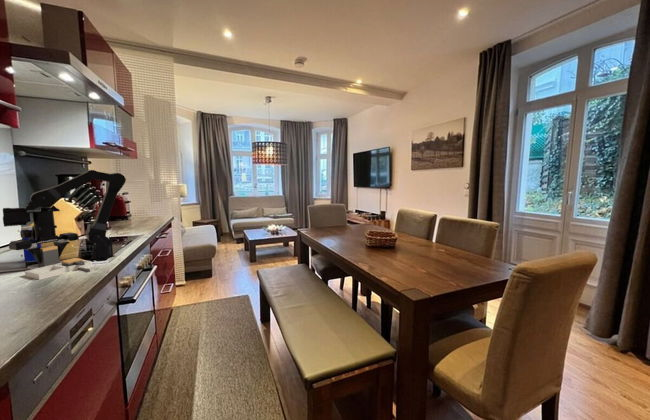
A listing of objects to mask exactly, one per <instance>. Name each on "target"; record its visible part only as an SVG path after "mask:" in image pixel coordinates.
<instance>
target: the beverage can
mask: <svg viewBox="0 0 650 420" xmlns="http://www.w3.org/2000/svg"><path fill="white" fill-rule="evenodd" d="M32 226H33V225H28V226H27V225H26V226H21V228H20V231H21V230H29V231H32ZM21 240H23V239H22V238H21ZM24 240H28V238H25V239H24ZM34 240H36V239H34ZM31 241H32V240H31ZM40 242H41V241H40ZM37 247H42V244H37ZM23 256H24V257H23V259H24V262H25V263H33V262H37V261H36V259H35V258H34V256H33V255H32V254H31V253H30V252H29V251H28V250H24V249H23Z"/></svg>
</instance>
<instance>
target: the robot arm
mask: <svg viewBox="0 0 650 420" xmlns="http://www.w3.org/2000/svg"><path fill="white" fill-rule="evenodd" d="M94 180H95V181H101V182H106V183H105V192H104V196H103V197H102V200H101V202H100V206H99V209H98V211H97V214H96V216H95V219H94V221H93V223H91V224H90V223H87V226H86V227H87V228H86V230H85V231H84V234H85V238H86V239H87V240H88V241H89V242H90V243H92V244H93V245H92V246H91V247H92V249H91V252H90V253H91V258H90V259H92V260H96V261H103V260H107V259H109V258H110V259H111V258H115V257H116V255H114V250H113V240H112V239H110V238H109V237H108V236H106V235H107V223H108V220H109V218H110V215H111V212H112V210H113V207H114V203H115V200H116V198H117V195H118V194H119V192H120V191H121V190H122V188H123V187H124V185H125V184H126V180H127V179H126V176H125V175H123V174H122V173H119V172H111V173H107V172H104V171H102V172H101V171H97V170H94V169H90V170H89V169H88V170H87V171H85V172H83V173H81V174H80V175H79V174H78V175H77V176H75V177H73V178H70V179H69V180H66V181H64V182H62V183H60V184H57V185H55V186H52V187H48V188H45V189H42V190H38V191H35V192H33V193H32V194H31V195H30V198H29V199H30V201H29V202H28V203H27V204H25V206H24V207H3V208H2V223H3V227H16V226H27V224H28V223H31V222H33V225H31V226H32V231H29V230H21V229H20V231H19V233H20V238H21V239H18V240H11V241H10V242H9V244H8V249H9V250H13V251H22V250H23V249H24V250H28V251H29V252H30V253H31V254H32V255H33V256H34V258H35V259H36V261H35V262H37V264H38V263H39V264H41V252H40V247H37V244H41V245H42V244H47V243H53V246H58V255H59V259H60V258H61V256H62V253H63V252H64V250H65V249H66V246H67V245H69V244H70V242H73V241H78V240H79V239H80V238H79V234H78V233H76V232H63V233H59V235H58V234H57V233H56V229H57V228H58V225H56V223H55V216H54V212H55V213H56V212H60V211H61V210H60V209H59V207H56V206H55V205H54V204H53V203H54V202H55V201H57V200H58V199H59V198H60V197H62V196H63V195H65V194H67V193H69V192H70V191H73V190H75V189H77V188H79V187H81V186H84V185H85V184H87V183H89V182H91V181H94ZM50 205H51V206H50ZM48 206H49V207H48ZM38 208H40V209H38ZM36 209H38V210H36ZM31 214H32V221H31ZM25 238H28V240H24V239H25ZM22 239H23V240H22ZM34 239H36V240H34ZM31 240H32V241H31ZM40 241H41V242H40ZM24 250H23V251H24Z"/></svg>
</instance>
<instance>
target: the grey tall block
mask: <svg viewBox="0 0 650 420" xmlns="http://www.w3.org/2000/svg"><path fill="white" fill-rule="evenodd" d="M40 252H41V264H39V263H38V262H37V264H38V267H39V268H41V267H45V266H49V265H54V264H58V263H59V260H60V258H59V255H58V246H55V245H54V244H53V245H51V244H50V245H49V244H48V245H45V246H41V247H40Z"/></svg>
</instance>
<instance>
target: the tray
mask: <svg viewBox="0 0 650 420" xmlns="http://www.w3.org/2000/svg"><path fill="white" fill-rule="evenodd" d="M61 261H62V260H60V259H59V263H62V262H61ZM26 267H27V269H28V270H32V269H36V268H39V267H38V263H37V264H32V265H28V266H26Z"/></svg>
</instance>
